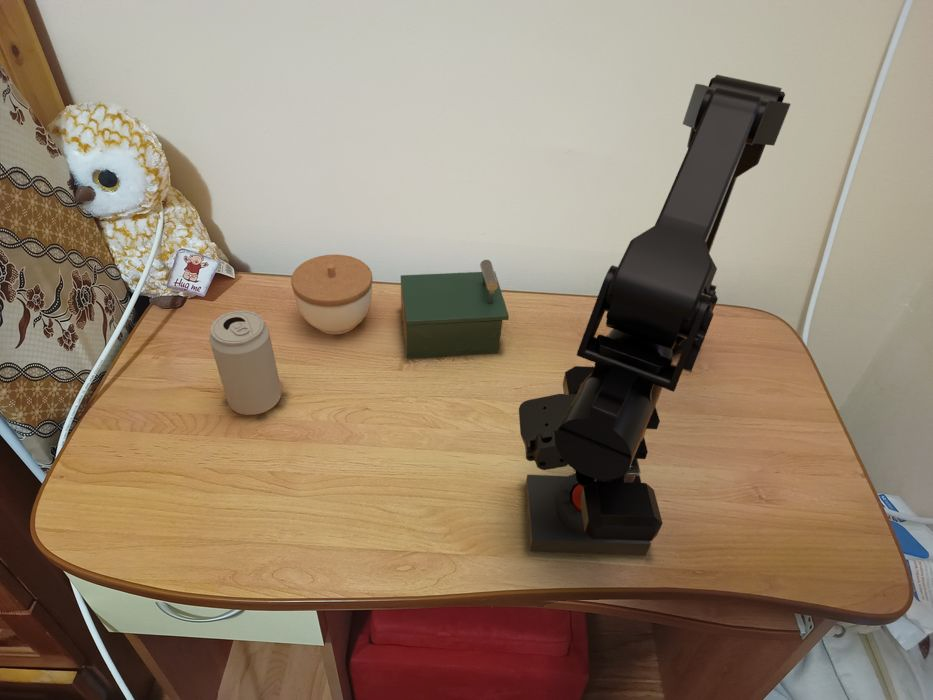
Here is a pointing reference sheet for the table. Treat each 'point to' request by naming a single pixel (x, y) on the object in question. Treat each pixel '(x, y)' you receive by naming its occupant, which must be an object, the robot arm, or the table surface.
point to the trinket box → (333, 292)
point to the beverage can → (245, 362)
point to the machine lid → (453, 297)
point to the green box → (450, 338)
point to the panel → (565, 521)
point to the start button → (577, 497)
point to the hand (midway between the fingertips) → (590, 496)
